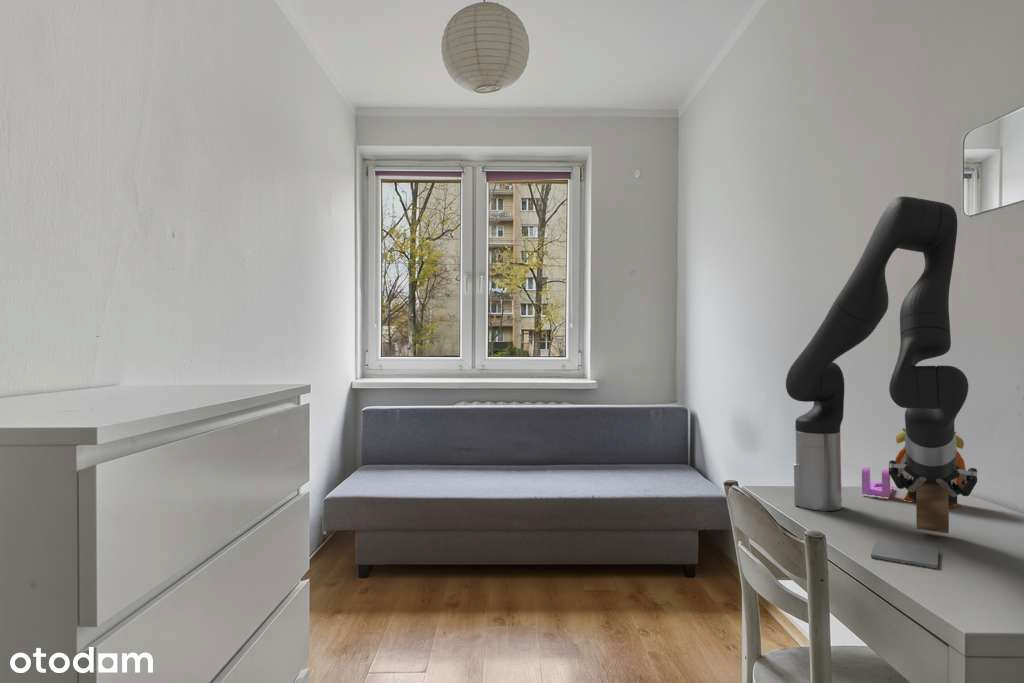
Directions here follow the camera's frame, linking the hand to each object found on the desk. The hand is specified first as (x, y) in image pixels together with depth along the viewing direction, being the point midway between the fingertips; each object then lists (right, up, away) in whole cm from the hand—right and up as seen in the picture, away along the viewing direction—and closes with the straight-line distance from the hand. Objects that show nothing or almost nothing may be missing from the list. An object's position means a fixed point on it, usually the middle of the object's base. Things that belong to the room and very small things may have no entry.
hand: (932, 499), depth 118 cm
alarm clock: (+15, -7, +23) cm, 28 cm away
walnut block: (-1, -5, -1) cm, 5 cm away
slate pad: (-13, -7, -11) cm, 19 cm away
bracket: (+9, -7, +33) cm, 35 cm away
